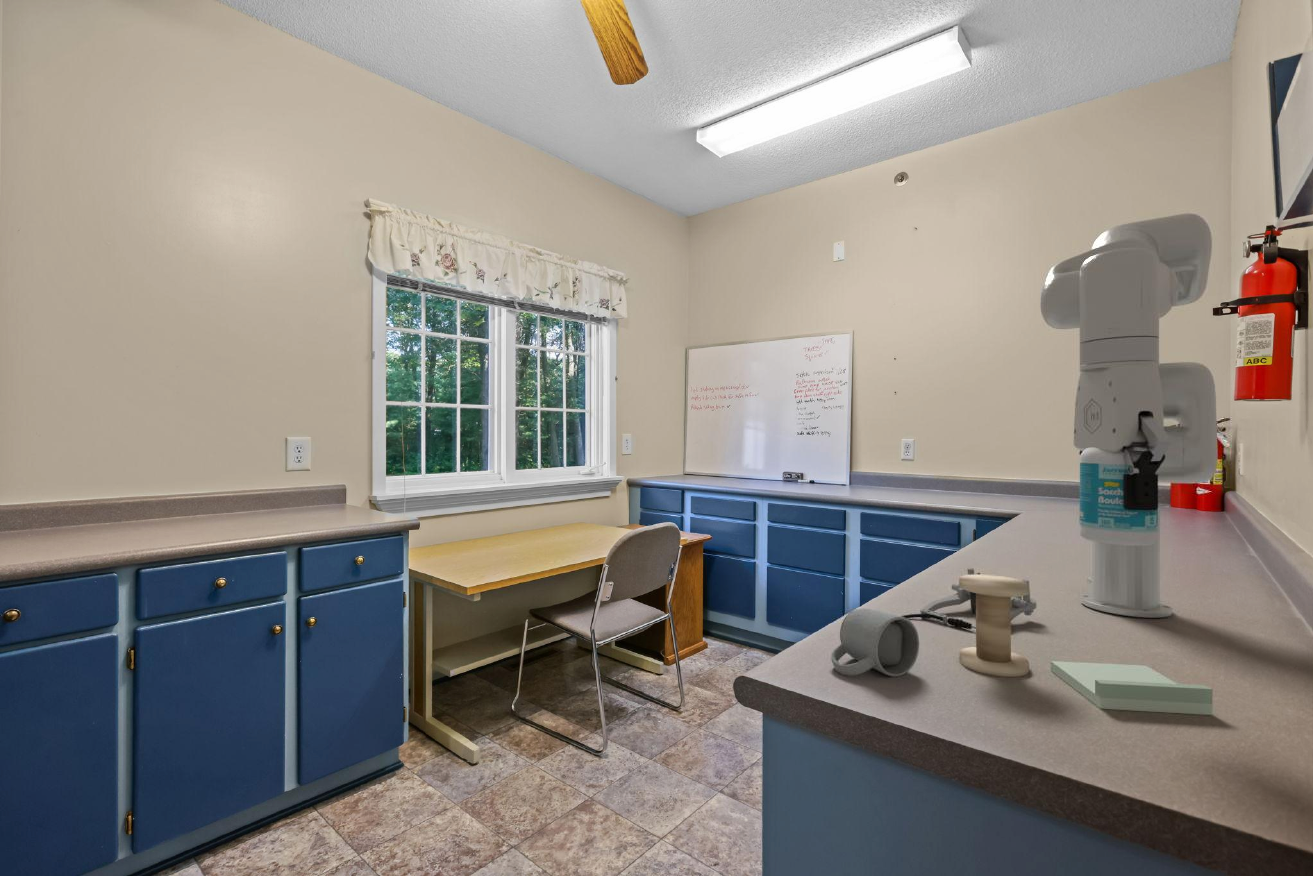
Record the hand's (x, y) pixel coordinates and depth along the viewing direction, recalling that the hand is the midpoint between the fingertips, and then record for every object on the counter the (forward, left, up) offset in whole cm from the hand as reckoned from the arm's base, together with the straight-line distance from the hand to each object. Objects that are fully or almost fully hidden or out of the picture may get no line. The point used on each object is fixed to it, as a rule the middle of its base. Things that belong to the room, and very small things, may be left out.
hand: (1118, 504), depth 72 cm
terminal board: (+1, 0, -22) cm, 22 cm away
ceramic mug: (-3, -28, -22) cm, 36 cm away
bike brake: (-26, -8, -22) cm, 35 cm away
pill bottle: (0, 0, -5) cm, 5 cm away
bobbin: (-6, -12, -22) cm, 25 cm away
